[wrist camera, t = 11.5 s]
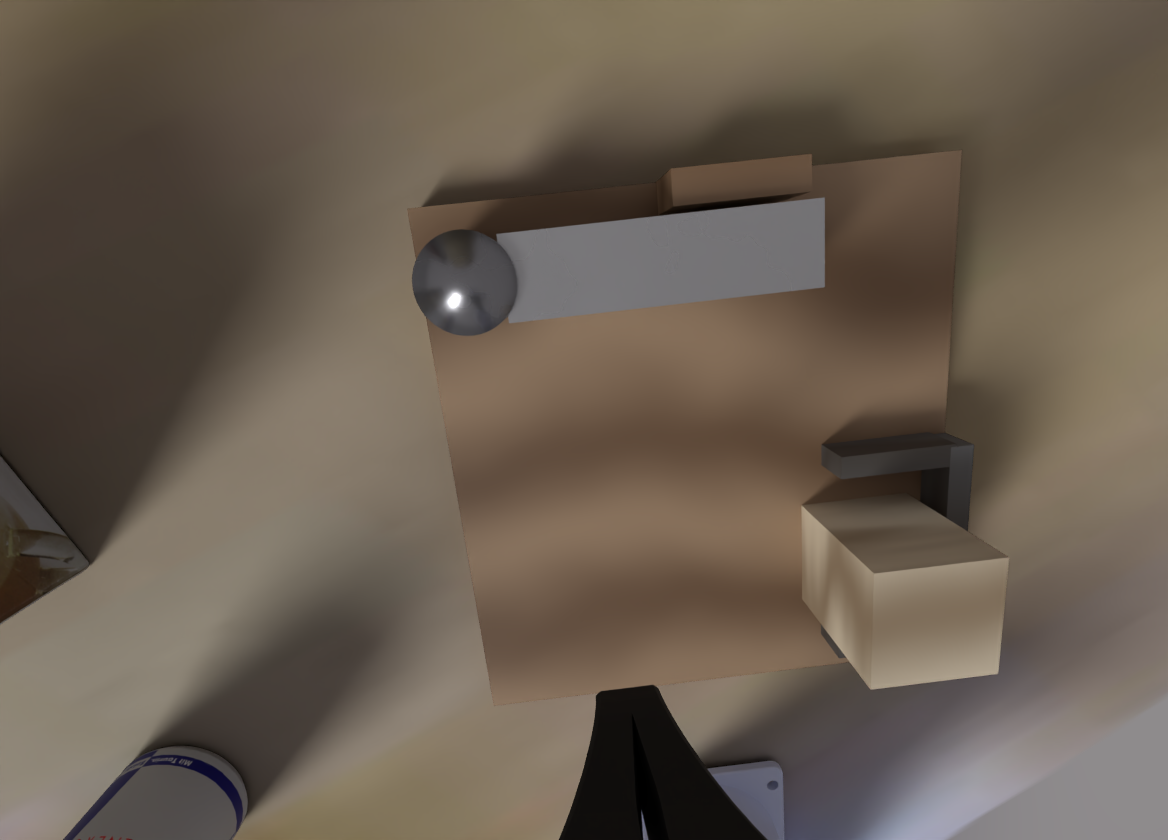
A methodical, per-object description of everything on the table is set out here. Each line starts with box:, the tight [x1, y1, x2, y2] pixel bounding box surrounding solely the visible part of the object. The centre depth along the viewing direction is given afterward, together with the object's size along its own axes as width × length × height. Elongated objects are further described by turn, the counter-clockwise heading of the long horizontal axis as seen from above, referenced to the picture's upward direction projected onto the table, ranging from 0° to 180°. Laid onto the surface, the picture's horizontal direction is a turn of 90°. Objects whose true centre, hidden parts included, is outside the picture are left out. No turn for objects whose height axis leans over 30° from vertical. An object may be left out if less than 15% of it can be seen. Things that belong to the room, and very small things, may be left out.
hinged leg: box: [412, 197, 825, 336], centre depth 17 cm, size 11×3×3 cm, turn 96°
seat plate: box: [407, 150, 974, 706], centre depth 20 cm, size 19×18×4 cm
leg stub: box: [801, 493, 1009, 690], centre depth 19 cm, size 4×4×5 cm
